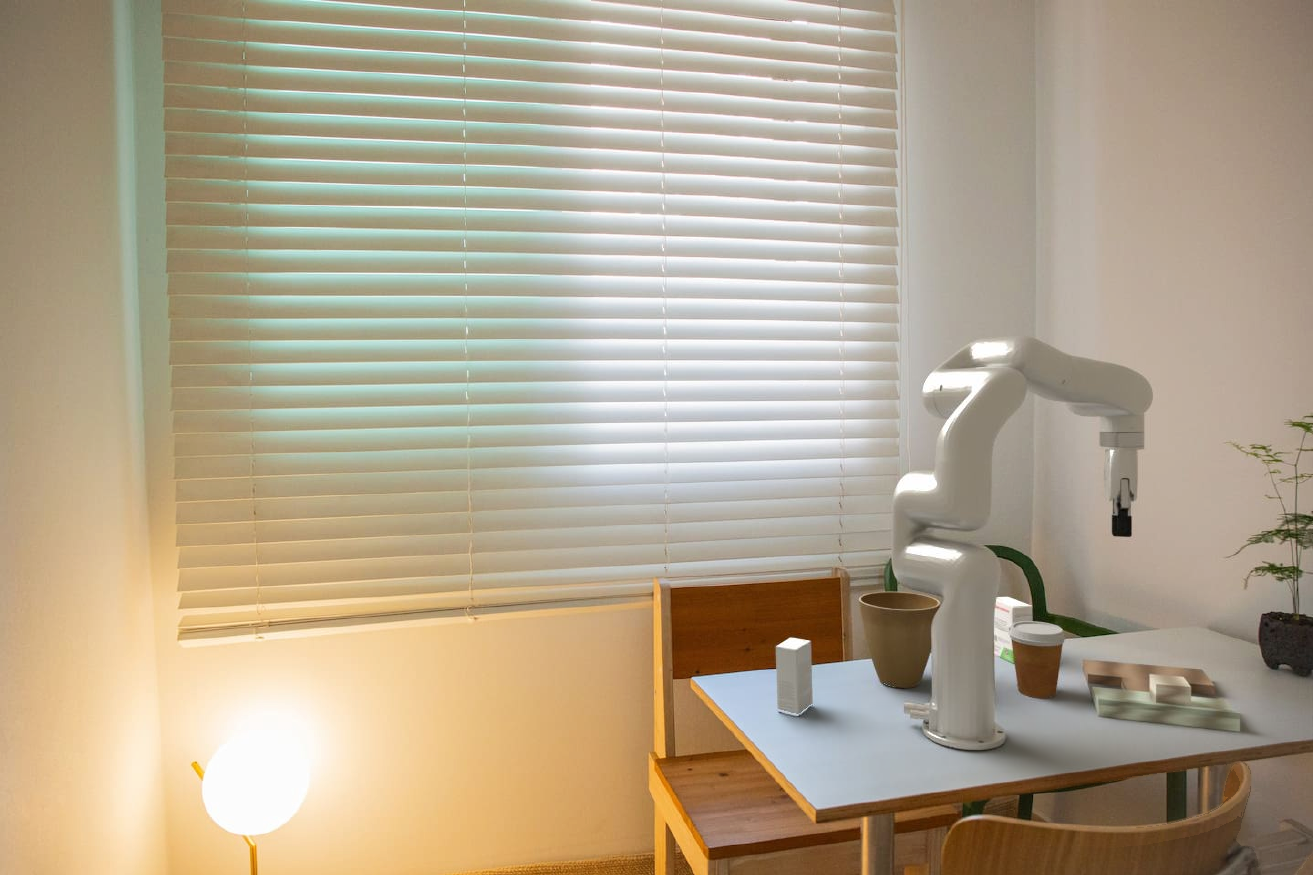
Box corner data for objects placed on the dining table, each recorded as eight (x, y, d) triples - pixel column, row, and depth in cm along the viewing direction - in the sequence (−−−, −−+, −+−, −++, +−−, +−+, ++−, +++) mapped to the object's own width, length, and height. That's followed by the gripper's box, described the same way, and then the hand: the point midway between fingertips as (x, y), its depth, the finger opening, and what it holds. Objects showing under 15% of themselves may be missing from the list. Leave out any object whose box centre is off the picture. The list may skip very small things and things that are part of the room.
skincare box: (791, 701, 148) (790, 636, 147) (813, 706, 145) (812, 640, 145) (776, 712, 143) (774, 645, 142) (798, 717, 140) (797, 649, 140)
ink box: (1034, 662, 165) (1034, 605, 165) (1012, 664, 164) (1012, 606, 164) (1008, 649, 174) (1008, 595, 173) (987, 651, 173) (987, 597, 172)
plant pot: (942, 698, 147) (941, 611, 146) (857, 691, 152) (856, 607, 151) (940, 671, 161) (939, 592, 160) (862, 666, 166) (861, 588, 165)
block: (1155, 707, 135) (1156, 683, 135) (1149, 696, 140) (1149, 674, 140) (1190, 710, 134) (1191, 686, 133) (1183, 699, 138) (1183, 676, 138)
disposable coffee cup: (997, 686, 152) (996, 623, 152) (1038, 680, 155) (1037, 618, 154) (1035, 704, 143) (1035, 637, 142) (1078, 697, 146) (1078, 631, 145)
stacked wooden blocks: (1098, 716, 137) (1098, 698, 137) (1082, 669, 160) (1082, 654, 160) (1240, 731, 130) (1240, 713, 130) (1202, 679, 153) (1202, 664, 153)
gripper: (1095, 439, 164) (1095, 529, 165) (1103, 443, 151) (1103, 541, 152) (1138, 439, 161) (1138, 530, 162) (1150, 443, 148) (1150, 543, 149)
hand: (1121, 535), depth 157 cm, fingers closed
